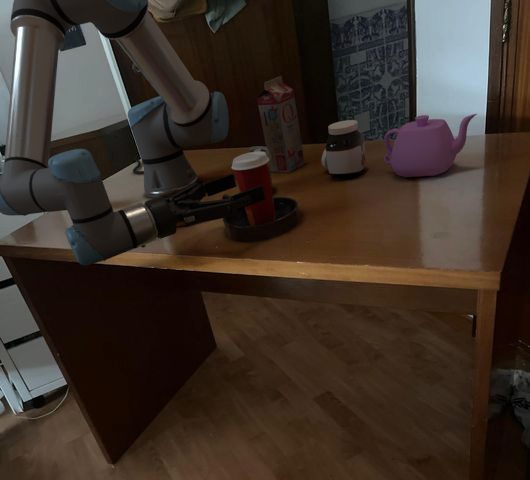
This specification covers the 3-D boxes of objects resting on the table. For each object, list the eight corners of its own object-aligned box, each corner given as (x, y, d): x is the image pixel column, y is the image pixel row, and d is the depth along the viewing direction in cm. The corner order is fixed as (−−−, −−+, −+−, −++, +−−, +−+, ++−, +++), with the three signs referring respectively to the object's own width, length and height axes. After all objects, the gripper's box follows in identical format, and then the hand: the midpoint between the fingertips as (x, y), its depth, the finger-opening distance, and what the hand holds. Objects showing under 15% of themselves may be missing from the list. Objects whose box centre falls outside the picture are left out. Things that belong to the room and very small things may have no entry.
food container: (272, 200, 124) (264, 157, 118) (247, 204, 125) (238, 161, 120) (281, 183, 134) (274, 142, 128) (258, 186, 135) (249, 146, 130)
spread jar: (354, 181, 123) (349, 129, 117) (311, 182, 129) (304, 132, 123) (373, 164, 131) (369, 114, 125) (332, 165, 137) (326, 118, 131)
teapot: (377, 183, 119) (372, 129, 113) (392, 163, 129) (389, 112, 122) (471, 178, 110) (472, 119, 104) (480, 158, 119) (482, 102, 113)
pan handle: (220, 203, 127) (218, 195, 126) (230, 199, 128) (228, 191, 127) (240, 214, 118) (238, 205, 117) (251, 210, 119) (250, 201, 117)
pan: (215, 228, 117) (211, 215, 115) (277, 204, 121) (275, 191, 119) (246, 248, 104) (243, 233, 102) (314, 220, 109) (312, 206, 107)
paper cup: (287, 216, 113) (275, 149, 105) (268, 231, 108) (254, 162, 100) (257, 215, 117) (243, 151, 109) (238, 230, 112) (222, 163, 104)
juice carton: (304, 163, 143) (291, 74, 131) (289, 172, 140) (273, 81, 128) (286, 163, 148) (271, 76, 135) (271, 171, 144) (254, 83, 132)
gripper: (139, 224, 113) (227, 192, 119) (177, 257, 93) (280, 217, 99) (127, 189, 109) (219, 158, 115) (164, 217, 89) (273, 178, 95)
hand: (248, 185), depth 107 cm, fingers open, 13 cm apart
